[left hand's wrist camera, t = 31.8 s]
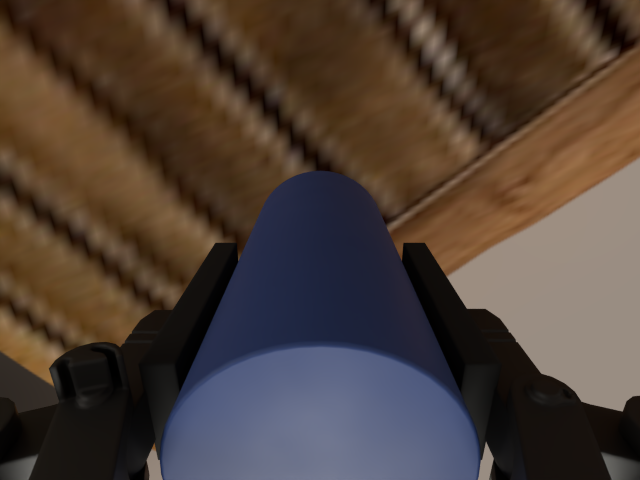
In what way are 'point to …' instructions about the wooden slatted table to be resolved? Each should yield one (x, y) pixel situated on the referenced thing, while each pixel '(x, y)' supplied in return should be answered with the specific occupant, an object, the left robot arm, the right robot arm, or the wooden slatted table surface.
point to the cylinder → (320, 357)
